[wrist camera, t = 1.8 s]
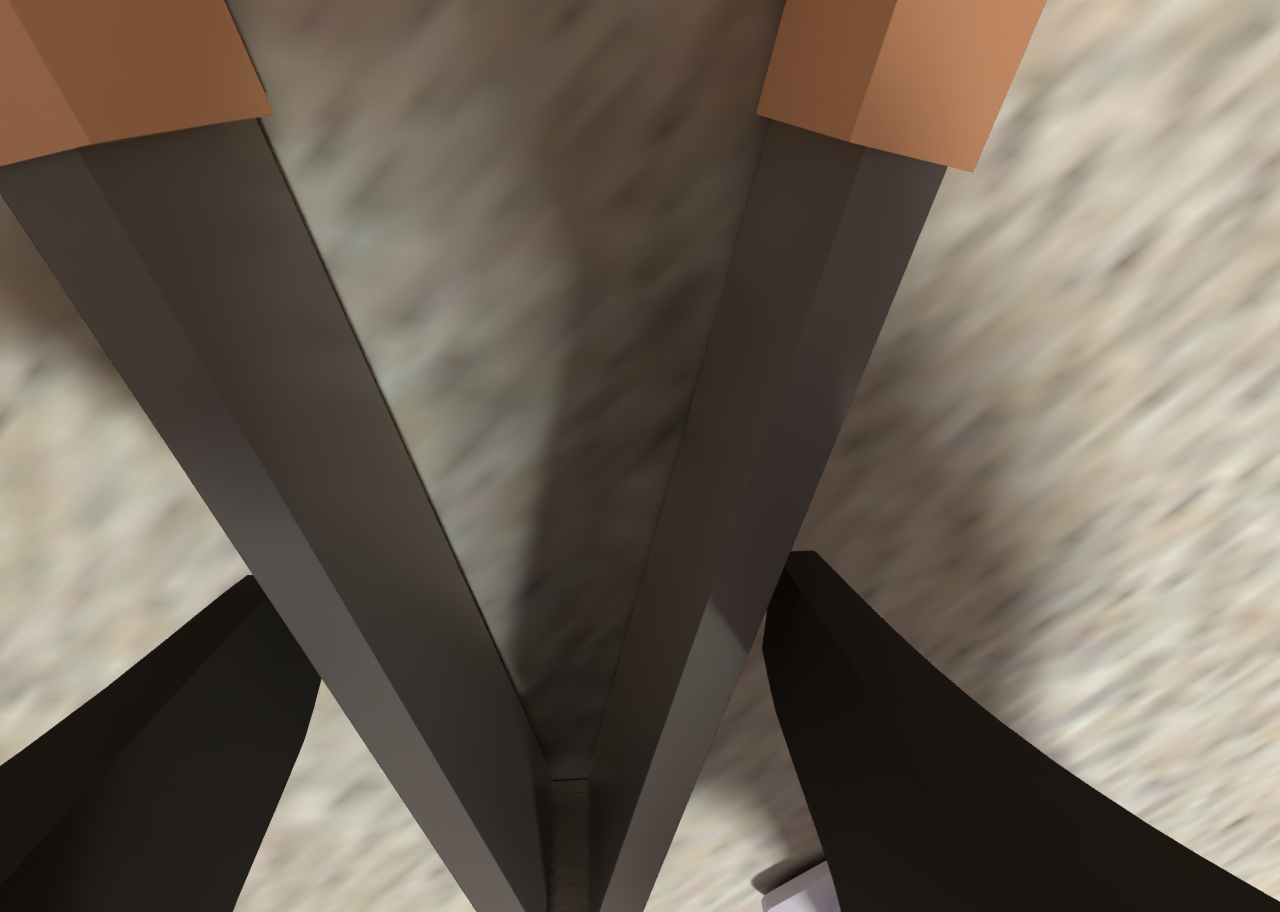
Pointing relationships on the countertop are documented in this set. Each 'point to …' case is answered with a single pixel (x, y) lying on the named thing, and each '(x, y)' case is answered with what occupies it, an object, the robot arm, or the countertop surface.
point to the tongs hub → (568, 848)
